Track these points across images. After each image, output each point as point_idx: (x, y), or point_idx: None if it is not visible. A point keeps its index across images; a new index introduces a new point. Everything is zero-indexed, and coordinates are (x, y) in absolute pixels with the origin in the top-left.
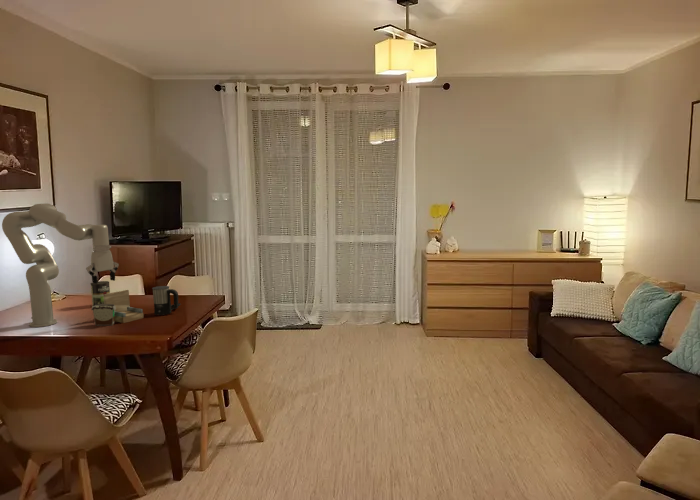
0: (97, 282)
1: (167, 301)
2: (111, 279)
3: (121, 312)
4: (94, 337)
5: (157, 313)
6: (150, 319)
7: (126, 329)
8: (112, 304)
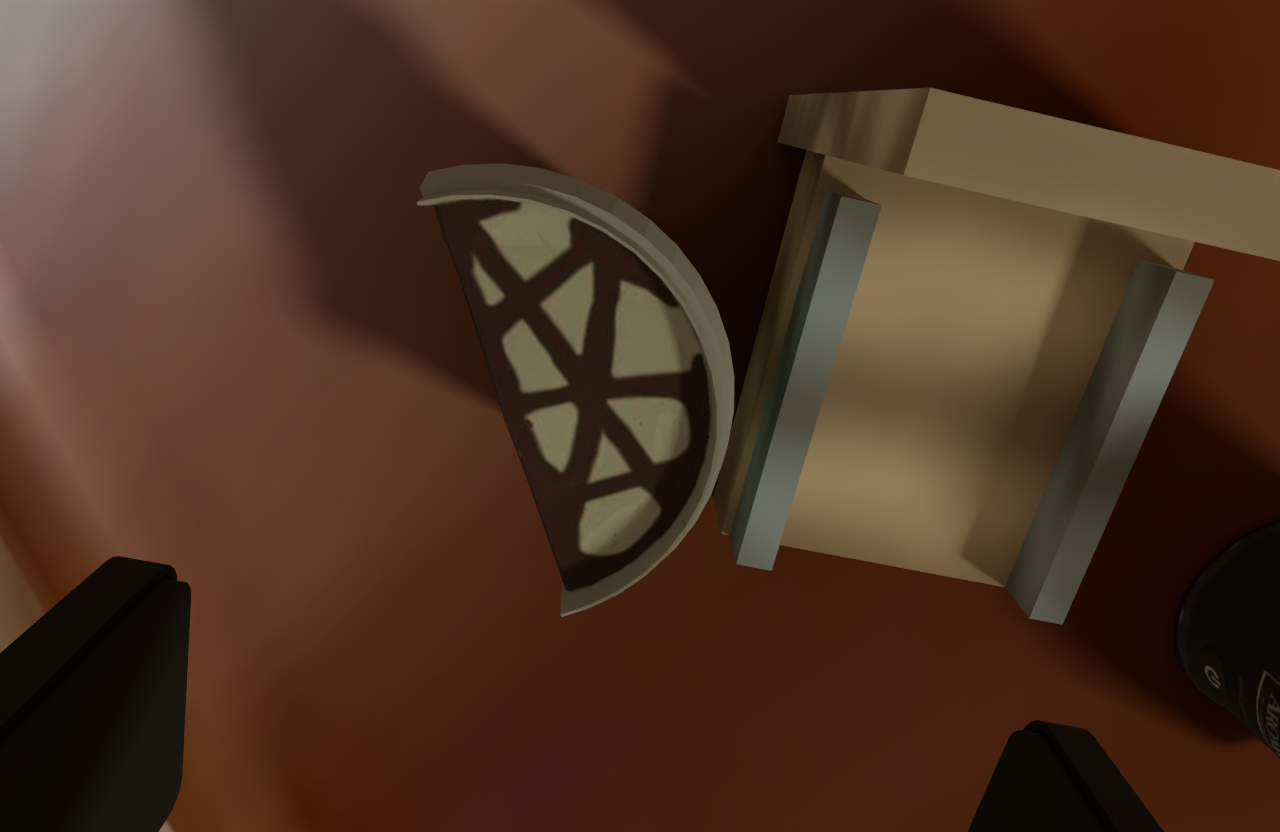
0: (160, 824)
1: None
2: (1002, 813)
3: (788, 486)
4: None
5: (1193, 631)
6: (950, 681)
7: (478, 735)
8: (709, 469)
